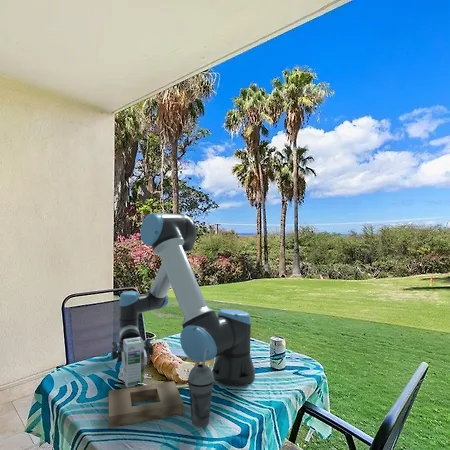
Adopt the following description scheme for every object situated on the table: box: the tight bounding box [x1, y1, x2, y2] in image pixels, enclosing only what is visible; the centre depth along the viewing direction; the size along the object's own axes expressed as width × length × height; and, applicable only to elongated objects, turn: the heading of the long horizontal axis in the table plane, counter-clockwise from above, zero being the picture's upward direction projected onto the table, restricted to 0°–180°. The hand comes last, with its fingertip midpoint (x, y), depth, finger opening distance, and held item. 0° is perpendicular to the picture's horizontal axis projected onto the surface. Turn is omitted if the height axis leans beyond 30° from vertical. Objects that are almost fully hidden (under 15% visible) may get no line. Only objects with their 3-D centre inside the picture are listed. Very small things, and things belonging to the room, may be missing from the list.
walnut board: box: [108, 380, 185, 429], centre depth 97 cm, size 20×14×3 cm
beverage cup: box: [187, 349, 215, 428], centre depth 91 cm, size 7×7×20 cm
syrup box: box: [122, 336, 145, 388], centre depth 112 cm, size 6×6×14 cm
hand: (134, 362), depth 107 cm, fingers closed on syrup box, 6 cm apart
